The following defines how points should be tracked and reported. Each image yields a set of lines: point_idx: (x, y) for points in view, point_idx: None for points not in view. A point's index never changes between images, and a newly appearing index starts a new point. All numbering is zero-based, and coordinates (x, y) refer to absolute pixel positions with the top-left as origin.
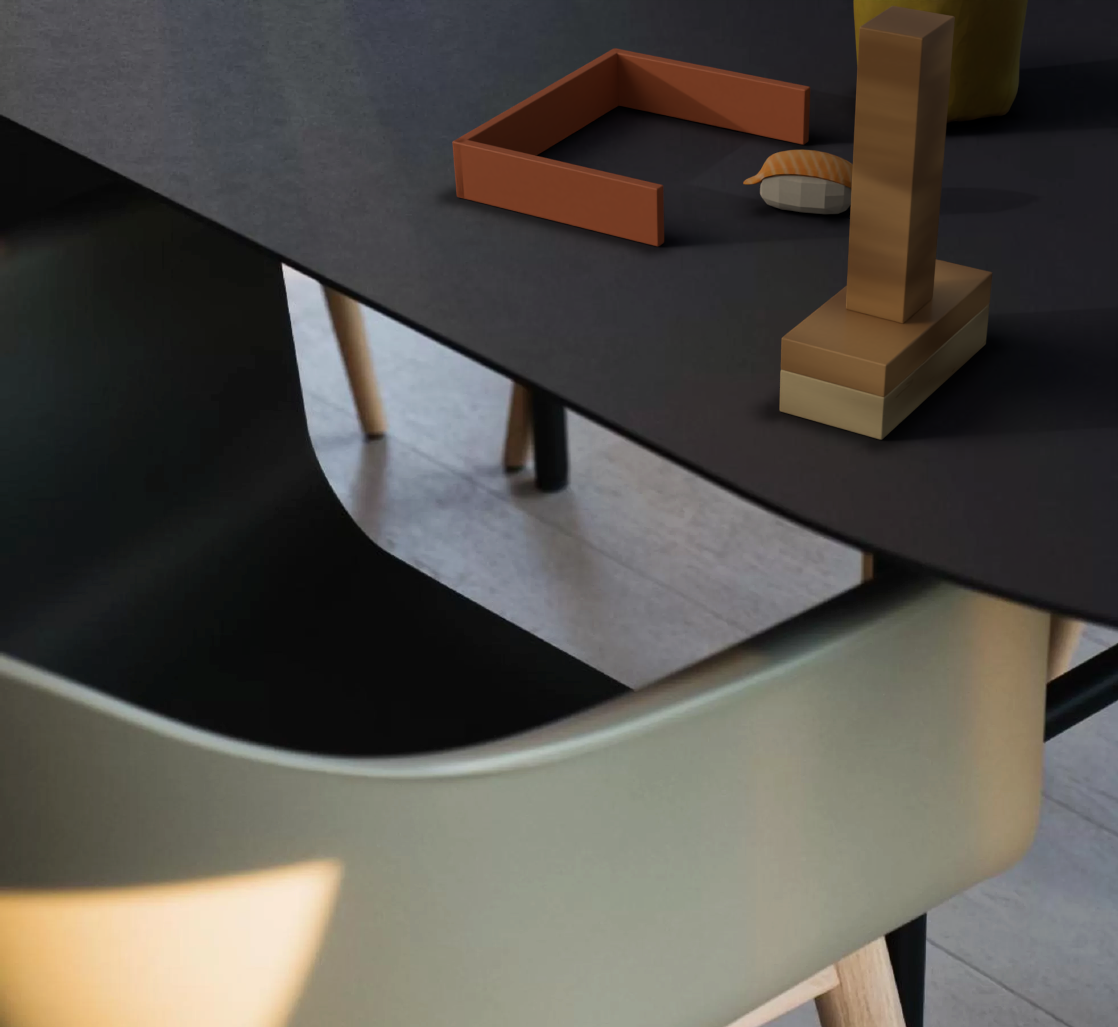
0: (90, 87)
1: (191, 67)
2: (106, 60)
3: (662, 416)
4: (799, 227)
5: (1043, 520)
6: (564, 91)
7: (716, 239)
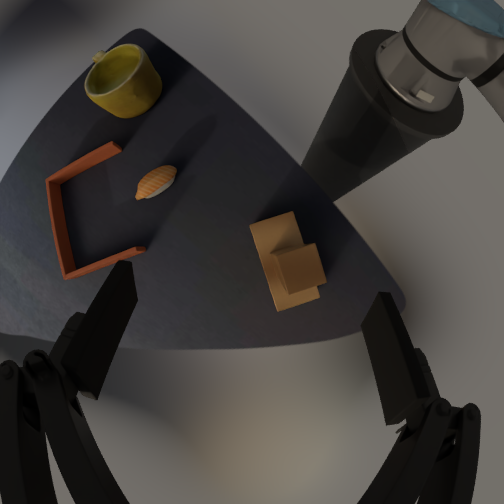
0: None
1: None
2: None
3: (250, 336)
4: (169, 197)
5: (378, 287)
6: (54, 214)
7: (155, 229)
